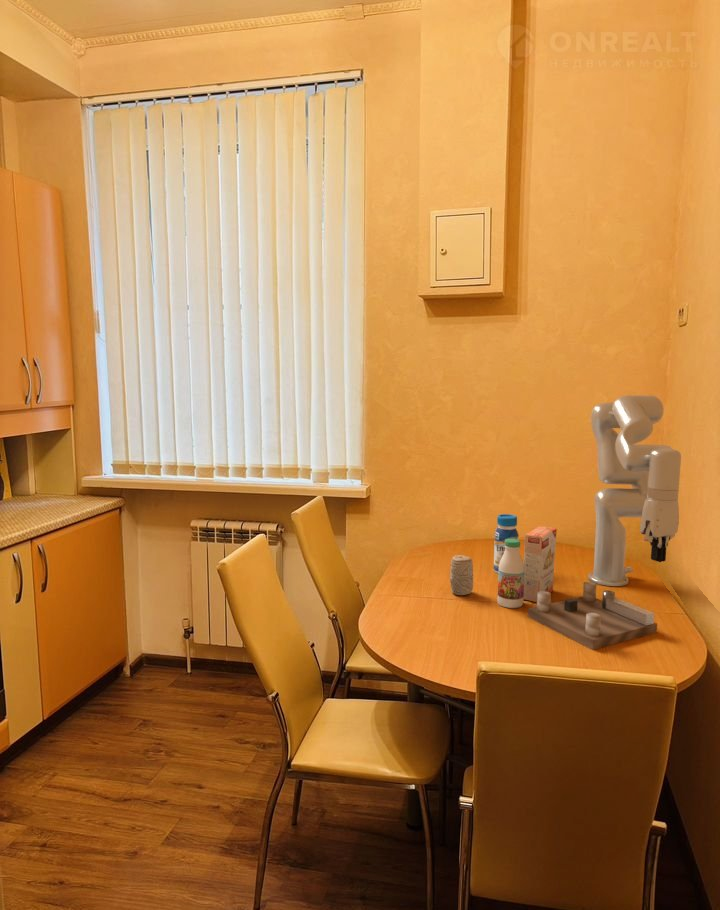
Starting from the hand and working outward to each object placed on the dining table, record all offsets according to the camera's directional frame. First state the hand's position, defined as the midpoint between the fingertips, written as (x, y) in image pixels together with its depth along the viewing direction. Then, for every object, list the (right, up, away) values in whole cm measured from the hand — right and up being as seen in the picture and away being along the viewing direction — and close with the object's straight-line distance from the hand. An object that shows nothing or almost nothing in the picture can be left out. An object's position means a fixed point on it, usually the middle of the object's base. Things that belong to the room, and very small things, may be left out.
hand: (658, 560), depth 171 cm
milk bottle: (-36, -17, +19) cm, 44 cm away
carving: (-49, -16, +28) cm, 59 cm away
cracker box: (-25, -16, +27) cm, 40 cm away
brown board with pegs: (-17, -19, +4) cm, 26 cm away
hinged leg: (-7, -16, +4) cm, 18 cm away
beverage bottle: (-30, -13, +50) cm, 59 cm away
